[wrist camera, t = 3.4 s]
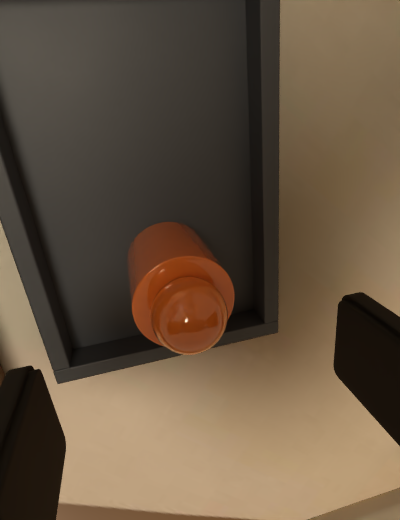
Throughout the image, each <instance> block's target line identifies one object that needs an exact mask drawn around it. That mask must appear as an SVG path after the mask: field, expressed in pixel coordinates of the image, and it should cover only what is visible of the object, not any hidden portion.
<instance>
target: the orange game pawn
mask: <svg viewBox="0 0 400 520" xmlns="http://www.w3.org/2000/svg"><path fill="white" fill-rule="evenodd" d="M127 269H128V279H129V288H130V298H131V307H132V315H133V318H134V321H135V324H136V326H137V327H138V329H139V330H140V332H141V333H142V334H143V335H144V336H145V337H147V338H148V339H149V340H151V341H152V342H154V343H156V344H159V345H162V346H165V347H166V348H168V349H169V350H171V351H173V352H176V353H179V354H184V355H194V354H199V353H202V352H204V351H206V350H208V349H210V348H211V347H213V346H214V345H215V344H216V343H217V342H218V341H219V340H220V338H221V337H222V335H223V333H224V331H225V329H226V325H227V321H228V319H229V317H230V315H231V312H232V309H233V306H234V299H235V293H234V287H233V283H232V281H231V279H230V277H229V275H228V274H227V272H226V271H225V270H224V268H223V267H222V266H221V264H220V263H219V261H218V260H217V259H216V257H215V256H214V255H213V253H212V252H211V251H210V249H209V248H208V247H207V245H206V244H205V243H204V241H203V240H202V239H201V237H200V236H199V235H198V234H197V233H196V232H195V231H194V230H193V229H192V228H190V227H188V226H186V225H184V224H181V223H177V222H161V223H157V224H154V225H152V226H150V227H148V228H146V229H144V230H143V231H142V232H141V233H139V234H138V235H137V237H136V238H135V239H134V240H133V242H132V244H131V246H130V248H129V251H128V255H127Z"/></svg>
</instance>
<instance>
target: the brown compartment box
mask: <svg viewBox="0 0 400 520" xmlns="http://www.w3.org/2000/svg"><path fill="white" fill-rule="evenodd" d="M4 378H5V374H4V372H3V369H2V367H1V365H0V387H1V385H2V382H3V380H4Z"/></svg>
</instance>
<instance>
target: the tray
mask: <svg viewBox="0 0 400 520" xmlns="http://www.w3.org/2000/svg"><path fill="white" fill-rule="evenodd" d="M279 56H280V0H0V220H1V223H2V226H3V229H4V232H5V234H6V237H7V240H8V243H9V246H10V249H11V252H12V254H13V257H14V260H15V263H16V266H17V269H18V272H19V274H20V277H21V280H22V283H23V286H24V289H25V292H26V294H27V297H28V300H29V303H30V306H31V309H32V312H33V314H34V317H35V320H36V323H37V326H38V329H39V332H40V334H41V337H42V340H43V343H44V346H45V349H46V352H47V354H48V357H49V360H50V363H51V366H52V369H53V370H54V375H55V378H56V381H57V383H58V384H60V383H64V382H69V381H73V380H77V379H81V378H86V377H90V376H94V375H99V374H103V373H107V372H111V371H116V370H120V369H124V368H128V367H133V366H137V365H141V364H145V363H150V362H154V361H158V360H163V359H167V358H171V357H175V356H180V355H184V354H179V353H176V352H173V351H171V350H169V349H168V348H166V347H165V346H162V345H159V344H156V343H154V342H152V341H151V340H149V339H148V338H147V337H145V336H144V335H143V334H142V333H141V332H140V330H139V329H138V327H137V326H136V324H135V321H134V318H133V315H132V307H131V298H130V288H129V279H128V269H127V255H128V251H129V248H130V246H131V244H132V242H133V240H134V239H135V238H136V237H137V235H138V234H139V233H141V232H142V231H143V230H144V229H146V228H148V227H150V226H152V225H154V224H157V223H161V222H177V223H181V224H184V225H186V226H188V227H190V228H192V229H193V230H194V231H195V232H196V233H197V234H198V235H199V236H200V237H201V239H202V240H203V241H204V243H205V244H206V245H207V247H208V248H209V249H210V251H211V252H212V253H213V255H214V256H215V257H216V259H217V260H218V261H219V263H220V264H221V266H222V267H223V268H224V270H225V271H226V272H227V274H228V275H229V277H230V279H231V281H232V283H233V287H234V293H235V299H234V306H233V309H232V312H231V315H230V317H229V319H228V321H227V325H226V329H225V331H224V333H223V335H222V337H221V338H220V340H219V341H218V342H217V343H216V344H215V345H214V346H213V347H211V348H214V347H218V346H222V345H227V344H231V343H235V342H239V341H244V340H248V339H252V338H256V337H261V336H265V335H269V334H274V333H278V260H279Z"/></svg>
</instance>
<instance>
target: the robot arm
mask: <svg viewBox="0 0 400 520" xmlns="http://www.w3.org/2000/svg"><path fill="white" fill-rule="evenodd" d="M334 370H335V373H336V375H337V376H338V378H339V379H340V380H341V381H342V382H343V383H344V384H345V386H346V387H347V388H348V389H349V390H350V391H351V392H352V393H353V394H354V396H355V397H356V398H357V399H358V400H359V401H360V402H361V403H362V404H363V406H364V407H365V408H366V409H367V410H368V411H369V412H370V413H371V415H372V416H373V417H374V418H375V419H376V420H377V421H378V422H379V423H380V425H381V426H382V427H383V428H384V429H385V430H386V431H387V432H388V433H389V435H390V436H391V437H392V438H393V439H394V440H395V441H396V442H397V444H398V445H399V446H400V317H399V316H397V315H396V314H394V313H393V312H391V311H390V310H388V309H387V308H385V307H384V306H382V305H381V304H379V303H378V302H376V301H375V300H373V299H372V298H370V297H369V296H367V295H366V294H364V293H362V292H359V293H354V294H350V295H345V296H344V297H343V298H342V301H340V302H339V304H338V313H337V326H336V340H335V353H334ZM65 452H66V441H65V436H64V433H63V430H62V428H61V425H60V422H59V419H58V416H57V414H56V411H55V408H54V405H53V402H52V400H51V397H50V394H49V391H48V388H47V386H46V383H45V380H44V377H43V374H42V372H41V370H40V369H37V370H34V368H33V367H32V366H26V367H22V368H17V369H13V370H9V371H8V372H7V373H6V375H5V378H4V380H3V382H2V385H1V387H0V520H56V515H57V507H58V501H59V494H60V487H61V480H62V473H63V466H64V459H65ZM308 520H400V488H397V489H394V490H392V491H389V492H386V493H383V494H380V495H377V496H374V497H371V498H368V499H365V500H362V501H360V502H357V503H354V504H351V505H348V506H345V507H342V508H339V509H337V510H334V511H331V512H328V513H325V514H322V515H319V516H316V517H314V518H311V519H308Z"/></svg>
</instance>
